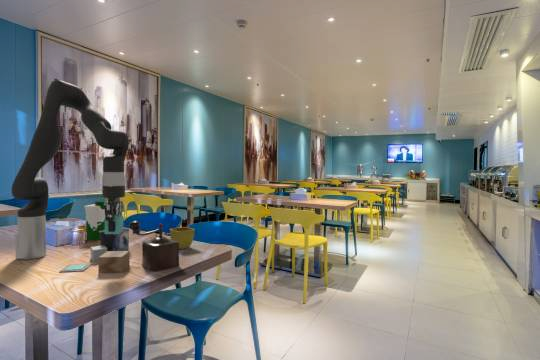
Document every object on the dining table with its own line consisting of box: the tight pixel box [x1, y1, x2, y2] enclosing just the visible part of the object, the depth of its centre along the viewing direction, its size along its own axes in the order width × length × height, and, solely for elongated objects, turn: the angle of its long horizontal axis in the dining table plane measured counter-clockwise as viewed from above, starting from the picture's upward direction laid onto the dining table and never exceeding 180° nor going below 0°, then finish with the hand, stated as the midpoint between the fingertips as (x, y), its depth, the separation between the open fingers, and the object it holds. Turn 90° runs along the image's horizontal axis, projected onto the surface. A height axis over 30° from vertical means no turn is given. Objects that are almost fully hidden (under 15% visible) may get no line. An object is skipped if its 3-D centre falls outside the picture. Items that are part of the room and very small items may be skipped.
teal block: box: [105, 214, 124, 234], centre depth 112 cm, size 5×5×6 cm
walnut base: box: [97, 250, 131, 275], centre depth 112 cm, size 8×8×6 cm
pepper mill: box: [128, 220, 180, 273], centre depth 115 cm, size 16×11×18 cm
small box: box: [100, 227, 130, 251], centre depth 133 cm, size 11×6×10 cm, turn 168°
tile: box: [58, 263, 93, 273], centre depth 113 cm, size 8×8×1 cm
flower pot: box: [169, 226, 196, 250], centre depth 144 cm, size 9×9×9 cm
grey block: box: [90, 245, 107, 263], centre depth 124 cm, size 5×5×6 cm
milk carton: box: [83, 200, 106, 241], centre depth 160 cm, size 9×9×20 cm
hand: (114, 229), depth 112 cm, fingers closed on teal block, 5 cm apart
